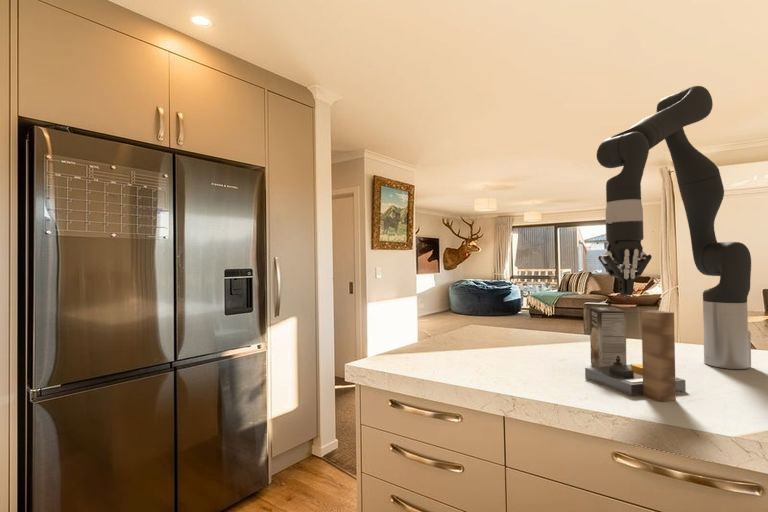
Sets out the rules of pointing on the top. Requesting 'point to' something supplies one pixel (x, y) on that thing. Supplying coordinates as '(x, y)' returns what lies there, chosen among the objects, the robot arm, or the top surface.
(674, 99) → the robot arm
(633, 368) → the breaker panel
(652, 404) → the top surface
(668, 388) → the walnut post
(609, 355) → the coffee box
